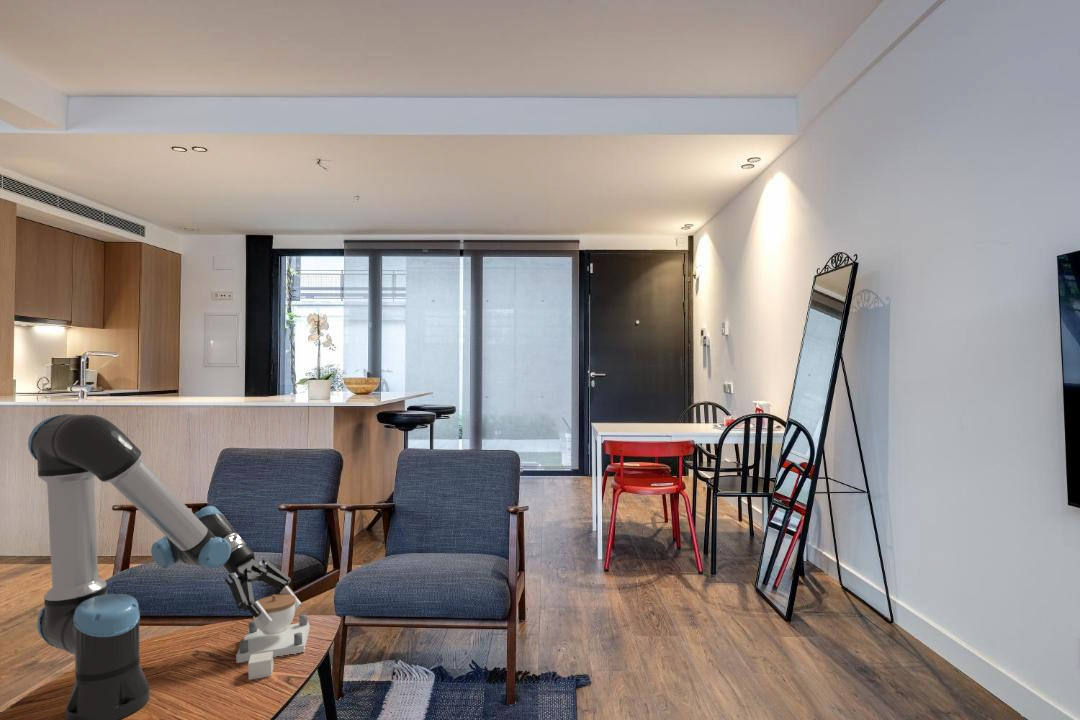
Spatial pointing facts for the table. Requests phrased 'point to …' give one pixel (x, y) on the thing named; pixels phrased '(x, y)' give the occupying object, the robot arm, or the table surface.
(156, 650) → the table surface
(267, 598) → the lidded jar
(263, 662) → the plain off-white block
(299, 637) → the grey stand
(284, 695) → the table surface
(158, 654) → the table surface
